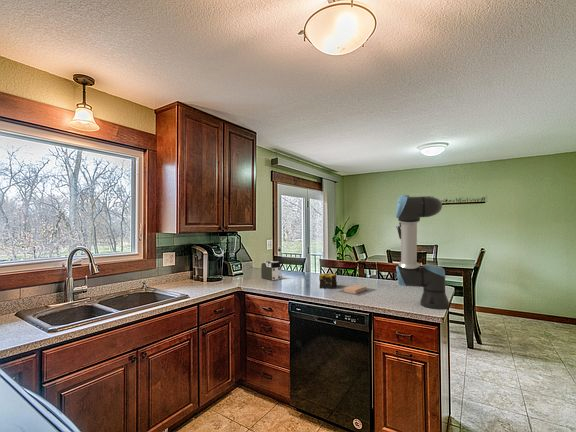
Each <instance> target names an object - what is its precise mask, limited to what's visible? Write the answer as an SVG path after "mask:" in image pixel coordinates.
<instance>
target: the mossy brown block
mask: <svg viewBox="0 0 576 432" xmlns="http://www.w3.org/2000/svg"><path fill="white" fill-rule="evenodd" d="M318 277H319V279H318V280H319V289H323V290H326V289H328V290H332V289H335V288H337V287H338V284H337V283H338V282H337V273H322V274H319V276H318Z"/></svg>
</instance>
